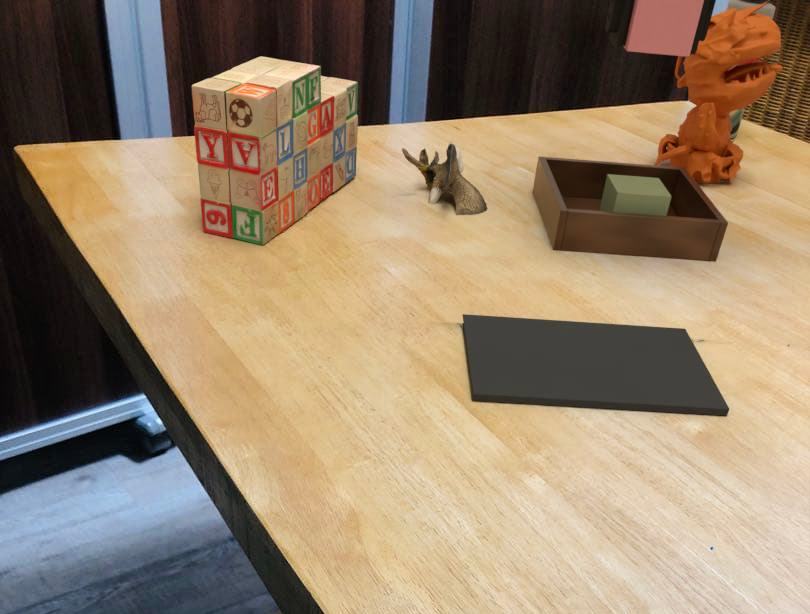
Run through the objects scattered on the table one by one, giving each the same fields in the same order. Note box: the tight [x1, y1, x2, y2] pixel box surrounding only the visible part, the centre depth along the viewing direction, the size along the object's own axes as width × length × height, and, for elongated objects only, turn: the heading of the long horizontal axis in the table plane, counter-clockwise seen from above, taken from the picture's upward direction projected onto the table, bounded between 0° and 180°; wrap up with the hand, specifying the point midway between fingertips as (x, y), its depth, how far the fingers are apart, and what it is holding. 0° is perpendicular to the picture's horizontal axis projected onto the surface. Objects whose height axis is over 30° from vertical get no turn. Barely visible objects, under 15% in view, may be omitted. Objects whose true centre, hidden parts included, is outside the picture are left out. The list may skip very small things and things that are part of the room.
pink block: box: [622, 0, 704, 58], centre depth 68 cm, size 5×5×5 cm
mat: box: [461, 313, 730, 417], centre depth 64 cm, size 18×12×1 cm, turn 91°
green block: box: [599, 174, 672, 216], centre depth 81 cm, size 5×5×5 cm
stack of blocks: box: [191, 56, 359, 246], centre depth 81 cm, size 21×6×12 cm, turn 160°
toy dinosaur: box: [653, 2, 784, 184], centre depth 95 cm, size 11×11×18 cm
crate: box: [532, 155, 729, 263], centre depth 85 cm, size 15×15×4 cm
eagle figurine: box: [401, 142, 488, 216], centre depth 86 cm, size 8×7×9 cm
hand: (652, 44), depth 69 cm, fingers closed on pink block, 5 cm apart
